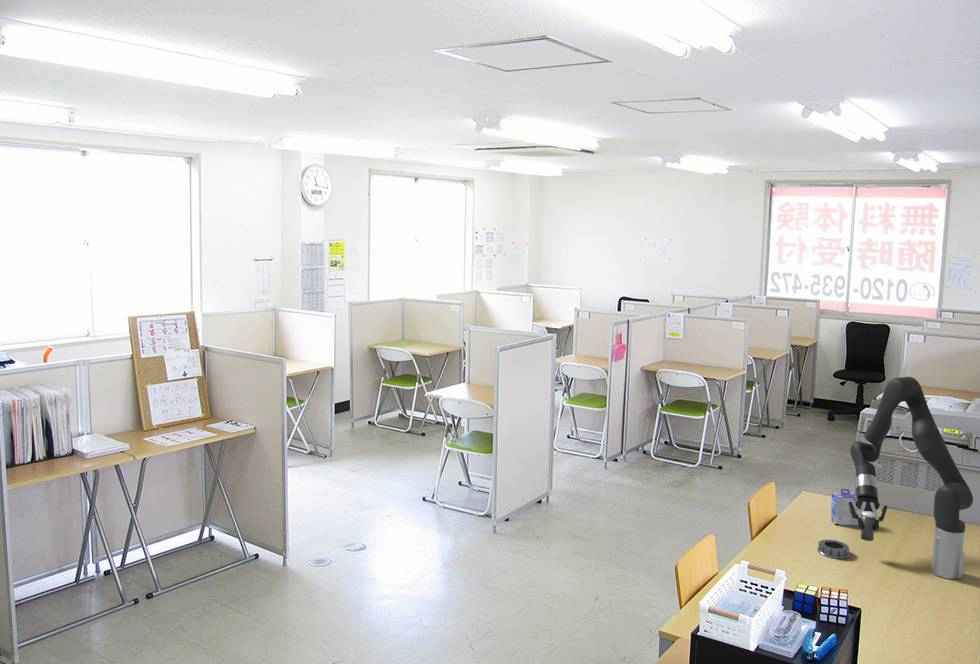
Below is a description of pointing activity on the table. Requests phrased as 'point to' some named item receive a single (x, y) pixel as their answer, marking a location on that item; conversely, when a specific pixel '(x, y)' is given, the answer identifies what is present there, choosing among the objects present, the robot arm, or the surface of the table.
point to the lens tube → (868, 525)
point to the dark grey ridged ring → (833, 549)
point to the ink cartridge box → (843, 508)
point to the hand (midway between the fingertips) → (868, 529)
